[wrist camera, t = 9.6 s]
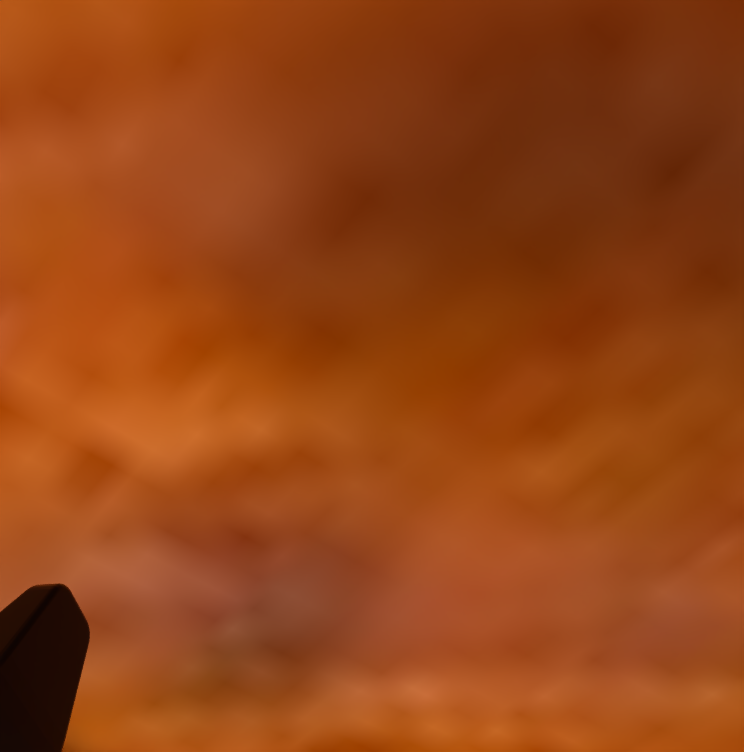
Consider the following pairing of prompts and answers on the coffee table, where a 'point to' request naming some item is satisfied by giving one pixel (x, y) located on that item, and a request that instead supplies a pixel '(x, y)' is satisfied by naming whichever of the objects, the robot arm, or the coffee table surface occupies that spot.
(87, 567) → the coffee table surface
